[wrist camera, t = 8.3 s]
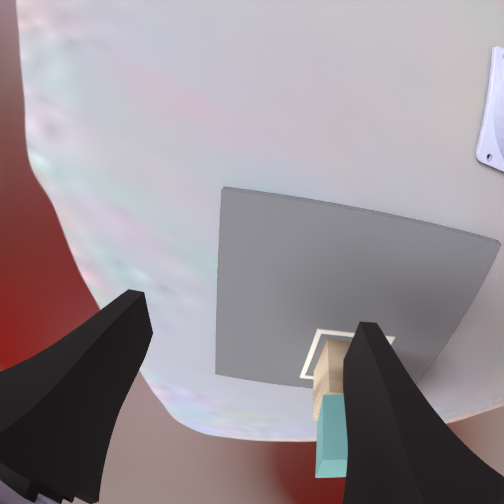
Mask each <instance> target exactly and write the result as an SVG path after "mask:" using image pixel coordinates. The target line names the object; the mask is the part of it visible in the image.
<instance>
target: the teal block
mask: <svg viewBox="0 0 504 504" xmlns="http://www.w3.org/2000/svg"><path fill="white" fill-rule="evenodd" d="M347 456H348V442H347V428H346V416H345V405H344V394H337V395H323V398H322V403H321V408H320V413H319V418H318V422H317V456H316V476H315V477H316V478H326V477H327V478H328V477H346V471H347Z"/></svg>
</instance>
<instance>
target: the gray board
mask: <svg viewBox="0 0 504 504" xmlns="http://www.w3.org/2000/svg"><path fill="white" fill-rule="evenodd" d="M500 246H501V244H500V243H499V241H498V240H494V239H491V238H487V237H484V236H480V235H476V234H472V233H469V232H465V231H461V230H457V229H453V228H449V227H445V226H441V225H436V224H432V223H428V222H424V221H419V220H415V219H410V218H406V217H401V216H396V215H392V214H387V213H382V212H377V211H372V210H367V209H362V208H357V207H351V206H346V205H341V204H335V203H329V202H324V201H318V200H312V199H306V198H300V197H293V196H287V195H280V194H274V193H267V192H260V191H252V190H245V189H237V188H229V187H223V189H222V190H221V208H220V228H219V250H218V277H217V310H216V372H215V374H218V375H223V376H228V377H234V378H240V379H246V380H252V381H258V382H265V383H272V384H279V385H287V386H296V387H305V388H313V385H314V370H315V367H316V365H317V363H318V360H319V358H320V355H321V353H322V351H323V348H324V346H325V343H326V341H327V339H331V340H340V341H350V342H351V341H352V339H353V337H354V334H355V332H356V329H357V327H358V325H359V322H360V321H362V322H374V323H377V324H378V325H379V327H380V328H381V330H382V332H383V333H384V335H385V336H386V338H387V340H388V341H389V343H390V345H391V346H392V348H393V350H394V351H395V353H396V354H397V356H398V358H399V359H400V361H401V363H402V364H403V366H404V367H405V369H406V370H407V372H408V373H409V375H410V377H411V378H412V380H413V381H414V383H415V384H416V383H417V382H418V381H419V379H420V378H421V377H422V376H423V374H424V373H425V372H426V370H427V369H428V368H429V366H430V365H431V364H432V362H433V361H434V360H435V358H436V357H437V356H438V354H439V353H440V351H441V350H442V349H443V347H444V346H445V344H446V343H447V341H448V340H449V338H450V337H451V335H452V334H453V332H454V331H455V329H456V328H457V326H458V325H459V323H460V321H461V320H462V318H463V317H464V315H465V313H466V312H467V310H468V308H469V307H470V305H471V303H472V301H473V300H474V298H475V296H476V294H477V292H478V291H479V289H480V287H481V285H482V283H483V281H484V279H485V278H486V276H487V274H488V272H489V270H490V268H491V266H492V263H493V261H494V259H495V257H496V255H497V253H498V251H499V248H500Z"/></svg>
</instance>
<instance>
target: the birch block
mask: <svg viewBox="0 0 504 504" xmlns="http://www.w3.org/2000/svg"><path fill="white" fill-rule="evenodd" d="M350 344H351V342H350V341H340V340H331V339H327V341H326V343H325V346H324V348H323V351H322V353H321V355H320V358H319V360H318V363H317V365H316V367H315V370H314V385H313V420H317V421H318V418H319V413H320V408H321V403H322V398H323V395H337V394H343V360H344V358H345V355H346V353H347V351H348V348H349V346H350Z"/></svg>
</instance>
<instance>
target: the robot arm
mask: <svg viewBox="0 0 504 504" xmlns="http://www.w3.org/2000/svg"><path fill="white" fill-rule="evenodd" d="M503 55H504V49H503V48H501V47H499V46H495V47H493V49H492V58H491V69H490V78H489V86H488V93H487V100H486V106H485V112H484V117H483V122H482V127H481V132H480V136H479V141H478V145H477V149H476V158H477V160H479V161H480V162H482V163H484V164H486V165H489V166H491V167H493V168H496V169H498V170H500V171H503V172H504V57H503ZM488 154H489V159H488V160H487V155H488ZM152 335H153V331H152V326H151V322H150V318H149V313H148V309H147V304H146V299H145V294H144V292H140V291H135V290H130V289H128V290H127V291H126V292H124V293H123V294H121V295H120V296H119V297H117V298H116V299H115V300H113V301H112V302H111V303H109V304H108V305H107V306H106V307H104V308H103V309H102V310H100V311H99V312H98V313H96V314H95V315H94V316H92V317H91V318H90V319H89V320H87V321H86V322H85V323H83V324H82V325H81V326H79V327H78V328H76V329H75V330H73V331H72V332H71V333H69V334H68V335H66V336H65V337H63V338H62V339H61V340H59V341H58V342H56V343H55V344H53V345H51V346H50V347H48V348H47V349H45V350H43V351H41V352H40V353H38V354H36V355H35V356H33V357H31V358H29V359H27V360H25V361H23V362H21V363H19V364H17V365H15V366H12V367H11V368H8V369H6V370H3V371H1V372H0V504H61V503H62V500H63V499H65V500H67V501H69V502H71V503H72V502H73V500H74V497H77V498H79V499H81V500H83V501H85V502H87V503H89V504H93V503H96V502H98V501H99V492H100V486H101V479H102V473H103V468H104V463H105V459H106V454H107V450H108V446H109V443H110V439H111V435H112V432H113V429H114V426H115V422H116V419H117V416H118V414H119V411H120V409H121V406H122V404H123V402H124V400H125V398H126V396H127V394H128V392H129V389H130V387H131V385H132V383H133V381H134V379H135V377H136V375H137V373H138V371H139V369H140V367H141V365H142V363H143V360H144V358H145V356H146V353H147V350H148V347H149V344H150V341H151V338H152ZM343 394H344V405H345V416H346V428H347V442H348V456H347V471H346V482H345V491H344V498H343V504H504V477H503V476H502V475H501V474H499V473H498V472H496V471H495V470H494V469H492V468H491V467H490V466H488V465H487V464H486V463H485V462H483V461H482V460H481V459H480V458H479V457H478V456H477V455H476V454H474V453H473V452H472V451H471V450H470V449H469V448H468V447H467V446H466V445H465V444H464V443H463V442H462V441H461V440H460V439H459V438H458V437H457V436H456V435H455V434H454V433H453V432H452V431H451V430H450V429H449V427H448V426H447V425H446V424H445V423H444V421H443V420H442V419H441V418H440V416H439V415H438V414H437V413H436V412H435V410H434V409H433V408H432V407H431V405H430V404H429V403H428V401H427V400H426V399H425V397H424V396H423V394H422V393H421V391H420V390H419V389H418V387H417V386H416V384H415V383H414V381H413V380H412V378H411V377H410V375H409V373H408V372H407V370H406V369H405V367H404V366H403V364H402V363H401V361H400V359H399V358H398V356H397V354H396V353H395V351H394V350H393V348H392V346H391V345H390V343H389V341H388V340H387V338H386V336H385V335H384V333H383V332H382V330H381V328H380V327H379V325H378V324H377V323H374V322H362V321H360V322H359V325H358V327H357V329H356V332H355V334H354V337H353V339H352V341H351V344H350V346H349V348H348V351H347V353H346V355H345V358H344V360H343Z"/></svg>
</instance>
